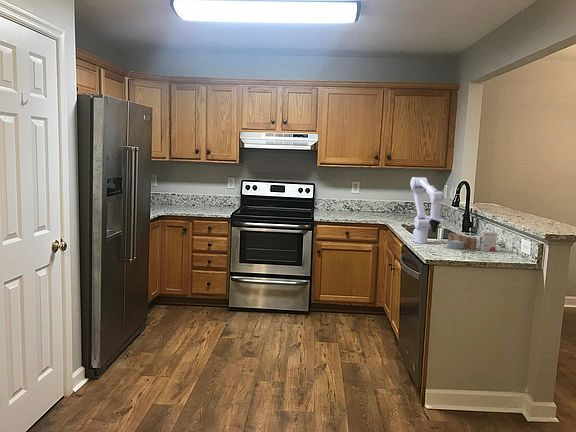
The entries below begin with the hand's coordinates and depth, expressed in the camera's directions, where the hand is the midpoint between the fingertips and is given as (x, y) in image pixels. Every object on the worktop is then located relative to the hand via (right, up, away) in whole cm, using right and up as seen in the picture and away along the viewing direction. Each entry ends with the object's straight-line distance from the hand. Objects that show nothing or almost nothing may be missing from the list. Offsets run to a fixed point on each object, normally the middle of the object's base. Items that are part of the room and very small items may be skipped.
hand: (433, 232), depth 299 cm
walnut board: (+19, -10, +5) cm, 22 cm away
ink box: (+32, -11, -4) cm, 34 cm away
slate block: (+14, -10, +2) cm, 18 cm away
